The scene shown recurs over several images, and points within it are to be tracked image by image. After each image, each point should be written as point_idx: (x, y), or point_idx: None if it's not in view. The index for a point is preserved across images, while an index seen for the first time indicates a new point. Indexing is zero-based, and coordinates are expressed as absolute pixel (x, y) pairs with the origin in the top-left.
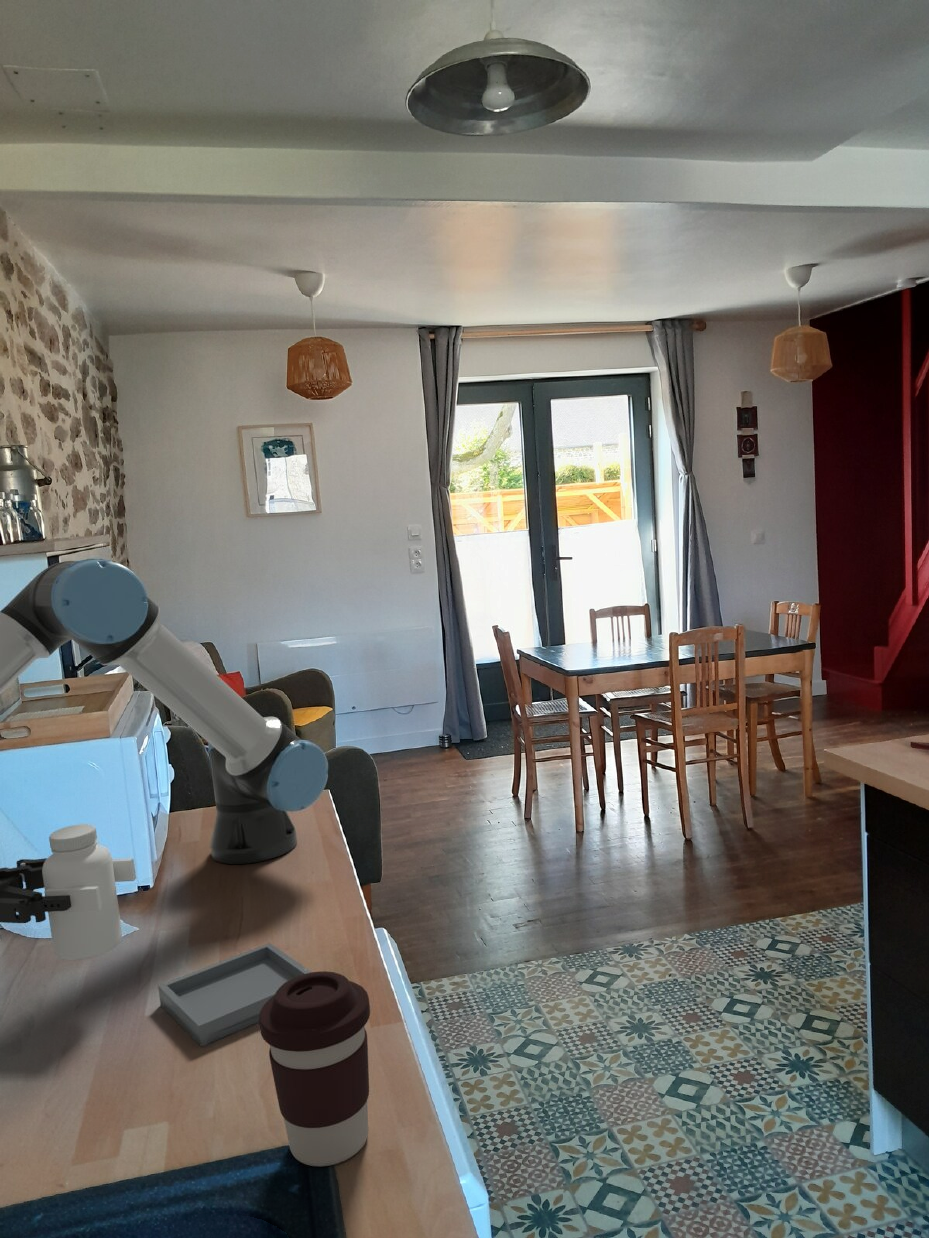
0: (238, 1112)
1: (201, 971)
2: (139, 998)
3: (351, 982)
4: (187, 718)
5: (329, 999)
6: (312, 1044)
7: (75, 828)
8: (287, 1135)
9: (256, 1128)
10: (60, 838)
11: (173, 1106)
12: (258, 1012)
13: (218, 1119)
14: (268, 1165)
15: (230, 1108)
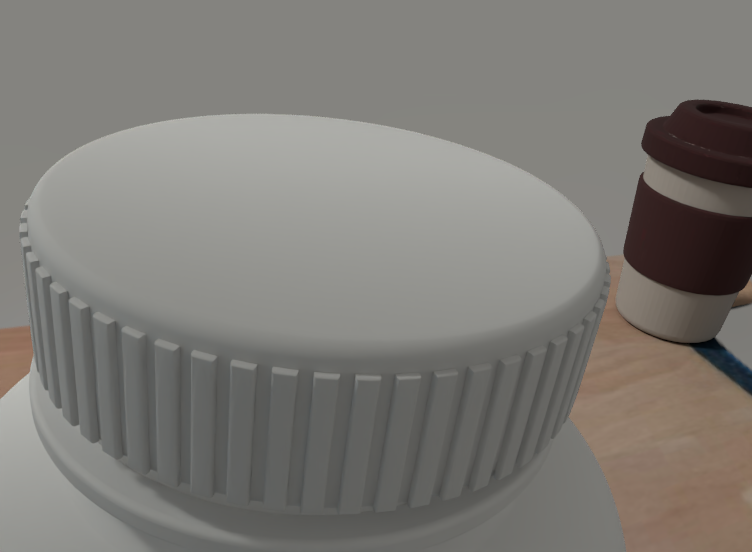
0: (664, 407)
1: None
2: None
3: (652, 121)
4: None
5: (749, 107)
6: None
7: (219, 188)
8: (717, 321)
9: (684, 382)
10: (569, 227)
11: (702, 498)
12: None
13: (693, 427)
14: (738, 360)
15: (661, 418)
